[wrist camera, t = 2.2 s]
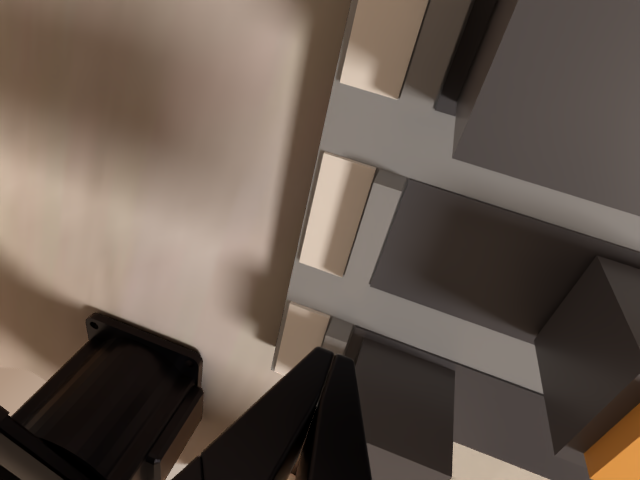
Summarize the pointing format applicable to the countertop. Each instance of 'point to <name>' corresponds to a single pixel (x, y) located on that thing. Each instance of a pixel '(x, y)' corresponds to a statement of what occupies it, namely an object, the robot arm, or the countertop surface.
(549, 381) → the block
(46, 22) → the countertop surface
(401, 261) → the breaker panel
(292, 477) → the mug
